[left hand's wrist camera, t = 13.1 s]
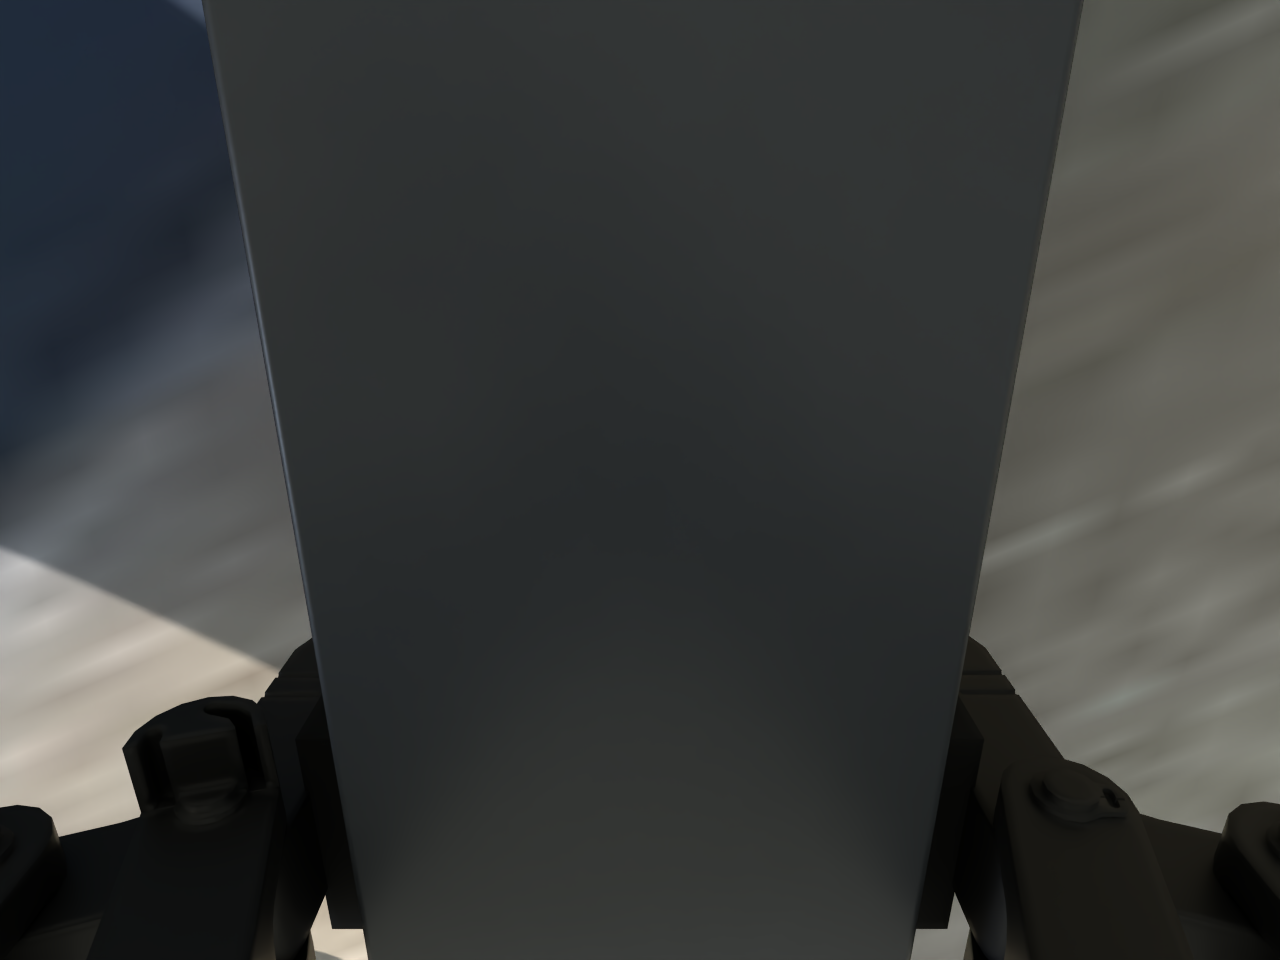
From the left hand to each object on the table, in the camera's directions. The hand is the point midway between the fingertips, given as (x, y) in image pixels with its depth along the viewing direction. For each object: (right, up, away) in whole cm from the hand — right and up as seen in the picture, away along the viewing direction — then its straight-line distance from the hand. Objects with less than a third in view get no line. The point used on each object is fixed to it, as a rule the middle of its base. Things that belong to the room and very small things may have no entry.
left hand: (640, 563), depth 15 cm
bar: (0, +27, -10) cm, 29 cm away
